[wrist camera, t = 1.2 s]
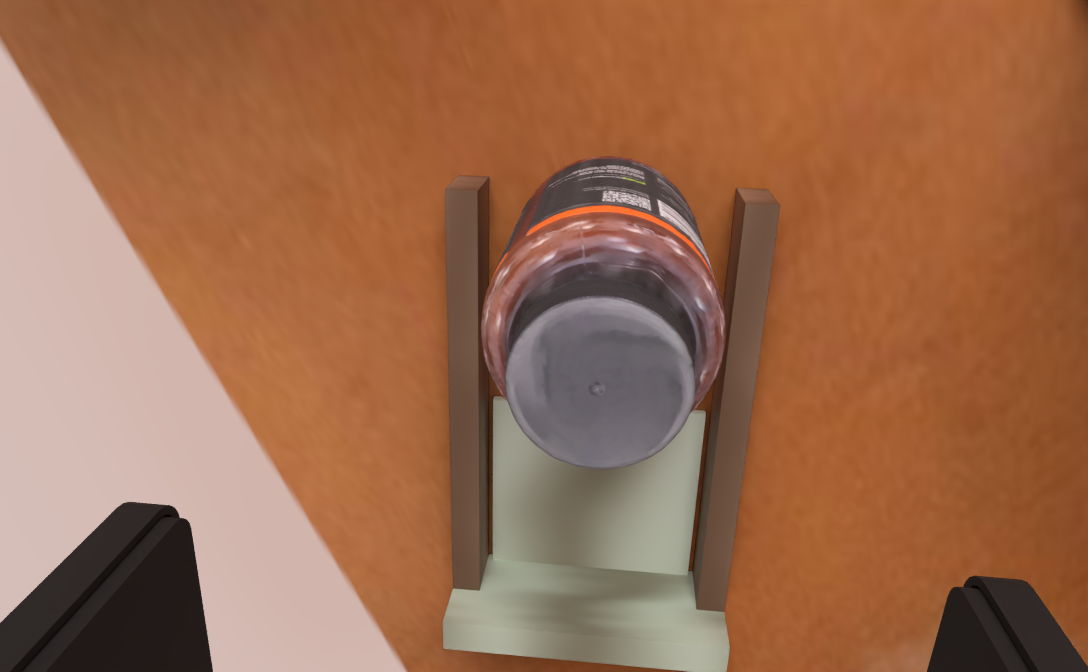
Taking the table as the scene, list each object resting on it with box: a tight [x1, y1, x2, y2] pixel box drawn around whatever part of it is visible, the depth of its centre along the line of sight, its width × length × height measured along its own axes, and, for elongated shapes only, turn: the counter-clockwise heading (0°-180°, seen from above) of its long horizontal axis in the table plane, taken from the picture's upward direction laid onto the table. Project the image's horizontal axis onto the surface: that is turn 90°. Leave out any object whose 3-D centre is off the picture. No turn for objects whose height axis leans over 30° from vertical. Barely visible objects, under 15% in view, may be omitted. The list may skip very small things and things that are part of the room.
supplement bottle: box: [481, 156, 726, 469], centre depth 22 cm, size 6×6×11 cm
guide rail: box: [443, 175, 780, 672], centre depth 28 cm, size 10×16×4 cm, turn 179°
